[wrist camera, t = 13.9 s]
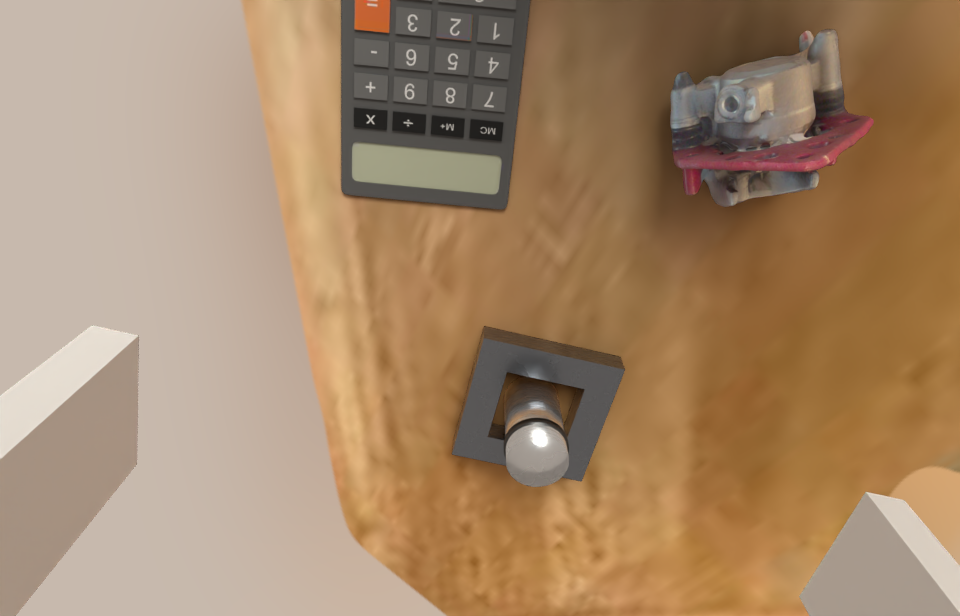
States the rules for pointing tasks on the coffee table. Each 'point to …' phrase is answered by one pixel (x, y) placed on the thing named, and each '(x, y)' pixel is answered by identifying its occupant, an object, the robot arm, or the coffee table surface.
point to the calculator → (431, 98)
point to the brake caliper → (764, 123)
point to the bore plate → (545, 362)
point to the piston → (534, 433)
